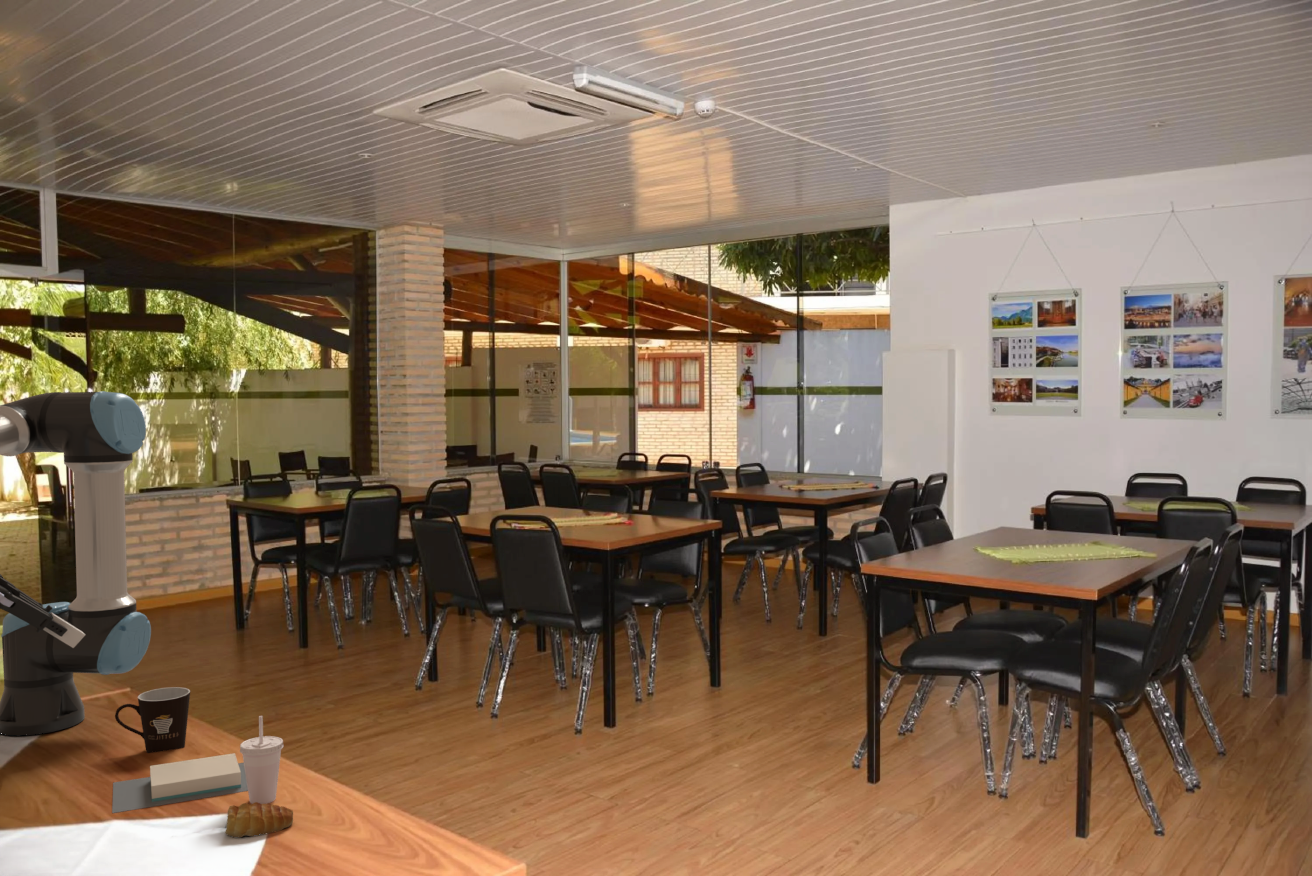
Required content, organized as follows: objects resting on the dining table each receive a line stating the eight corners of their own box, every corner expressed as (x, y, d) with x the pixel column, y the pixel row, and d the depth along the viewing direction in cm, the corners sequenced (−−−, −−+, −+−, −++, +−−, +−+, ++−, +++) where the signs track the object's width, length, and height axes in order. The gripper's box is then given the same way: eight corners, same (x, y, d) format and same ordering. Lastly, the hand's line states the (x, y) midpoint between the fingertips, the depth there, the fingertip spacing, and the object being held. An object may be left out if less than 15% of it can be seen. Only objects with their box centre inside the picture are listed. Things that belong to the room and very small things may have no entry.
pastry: (293, 816, 159) (292, 791, 158) (293, 834, 152) (293, 808, 152) (227, 824, 156) (226, 799, 155) (224, 843, 149) (223, 817, 149)
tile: (150, 765, 171) (234, 753, 177) (150, 780, 171) (235, 767, 177) (151, 786, 162) (240, 772, 168) (151, 802, 162) (241, 787, 168)
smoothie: (238, 813, 159) (236, 723, 158) (243, 797, 165) (241, 711, 165) (282, 809, 161) (281, 719, 160) (286, 793, 167) (284, 707, 166)
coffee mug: (200, 741, 192) (199, 687, 192) (174, 757, 184) (173, 701, 183) (141, 739, 194) (140, 686, 193) (112, 755, 185) (111, 700, 185)
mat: (113, 786, 170) (113, 782, 170) (243, 765, 179) (243, 762, 179) (112, 817, 158) (112, 813, 158) (252, 793, 167) (252, 789, 167)
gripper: (-74, 569, 163) (50, 644, 178) (-58, 596, 154) (72, 672, 169) (-36, 532, 166) (83, 609, 181) (-18, 556, 157) (106, 635, 172)
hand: (78, 640), depth 175 cm, fingers closed
